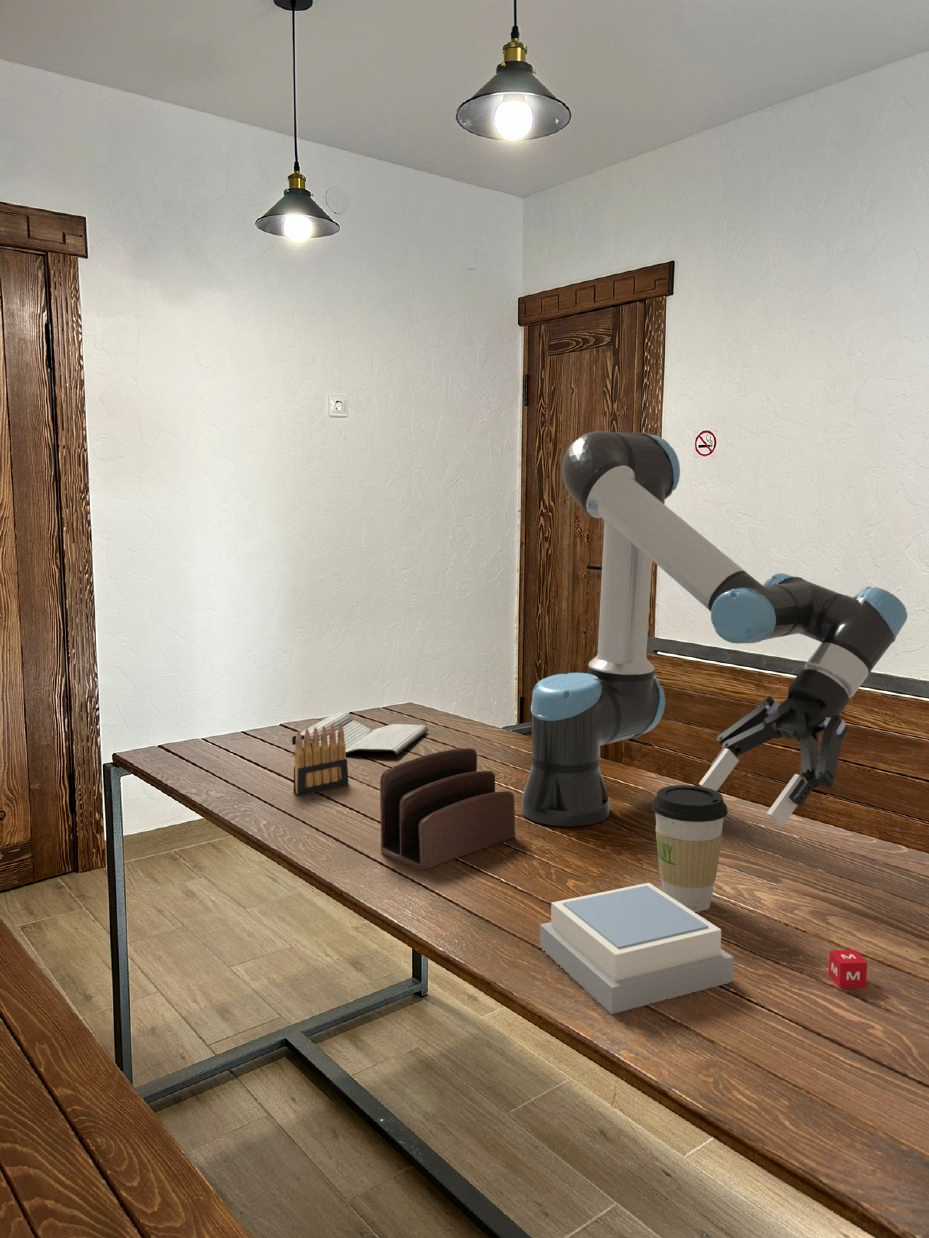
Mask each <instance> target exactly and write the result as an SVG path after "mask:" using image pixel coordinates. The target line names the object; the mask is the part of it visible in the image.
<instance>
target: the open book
mask: <svg viewBox="0 0 929 1238" xmlns="http://www.w3.org/2000/svg"><path fill="white" fill-rule="evenodd" d="M340 723H341V724H342V726H343V730H344V741H345V750H346V755H348V754H350V753H353V752H359V751H360V752H361V751H362V752H373V753H374V752H393V753H394V754H395V755H399V754H400V753H401V752H402V751H404V750H405V749H406V748H408V747H409V746H410V745H411V744H412V743H414V742H415V741H417V740H418V739H419V738H420V737H422V736H423V735H426V733H427V732H428V731H429V728H428V727H427V726H426V725H425V724H407V723H406V724H399V723H392V724H388V725H386V726H382V727H379V728H375V729H373V730H371V728H369V727H368V726H366V725H364V724H362V723H360V722H358V721H356V720H354V719H353V717H352V716H351V715H350V714H349V713H348V712H344V711H343V712H335V713H333V714H331V715H329V716H328V717H325V718H324V719H322V720H320V721H318V722H317V723H314V724H313V725H311V726H309V727H307V728H306V729H308V731H309V734H310V740H311V742H312V743H313V731H314V728H315V727H316V728H317V731H318V735H319V745H320V746H321V732H322V728H323V726H325V728H326V732H327V741H328V748H329V734H330V727H331V725H332V724H333V726H334V729H335V734H336V744H337V742H338V727H339V724H340ZM306 729H304V730H302V731H300V734H301V738H302V741H304V736H305V731H306ZM312 743H311V744H312ZM291 744H292V746H296V734H295V735H293V736H292V737H291ZM395 758H396V759H398V756H396V757H395Z"/></svg>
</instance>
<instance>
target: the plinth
mask: <svg viewBox="0 0 929 1238" xmlns="http://www.w3.org/2000/svg"><path fill="white" fill-rule="evenodd" d="M550 918H551V919H550V921H549V922H544V923H540V924H539V948H542V949H541V951H542V952H544V951H545V952H544V954H546V955H547V956H548V955H549V956H550V957H549V956H548V957H549V958H550V959H551V958H552V959H553V960H554V961H555V962H554V961H553V960H552V959H551V960H552V961H553V962H554V963H556V965H557V966H559V965H560V966H559V967H560V968H561V969H562V968H563V969H564V970H565V971H564V970H563V969H562V970H563V971H564V972H565V973H566V972H567V973H568V974H569V976H570V978H571V979H572V980H574V981H575V980H576V981H575V982H576V983H577V982H578V983H577V984H578V985H579V986H580V985H581V986H582V987H583V988H582V987H581V986H580V987H581V988H582V989H583V990H585V991H586V992H587V993H588V994H589V995H590V996H591V997H592V998H593V999H595V1001H596V1002H597V1003H598V1004H600V1005H601V1006H602V1007H603V1008H604V1010H606V1011H607V1012H608V1013H609V1014H610V1015H614V1014H619V1013H622V1012H626V1011H629V1010H633V1009H636V1008H641V1007H644V1006H649V1005H651V1003H652V1004H655V1003H660V1002H663V1001H667V1000H670V999H674V998H677V997H678V996H679V997H681V996H682V997H683V996H685V995H689V994H693V993H692V992H694V993H696V992H700V991H701V992H702V991H704V990H708V989H713V988H717V987H720V986H723V984H724V985H726V984H730V982H731V983H733V981H734V980H733V978H734V977H733V976H734V971H733V970H734V956H732V955H731V954H730V953H728V952H726V951H725V950H724V949H723V948H722V929H721V928H719V927H718V926H716V925H715V924H713V923H712V922H710V921H708V920H707V919H706V918H704V917H702V916H701V915H699V914H698V913H695V912H693V911H692V910H690V909H689V908H687V907H686V906H684V905H682V904H681V903H679V902H678V901H676V900H675V899H673V898H672V897H670V896H669V895H667V894H666V893H664V892H663V891H662V890H661V889H659V888H657V886H655V885H653V884H652V883H650V882H646V883H641V884H637V885H631V886H626V887H621V888H616V889H612V890H607V891H602V892H597V893H593V894H592V893H591V894H587V895H583V896H578V897H577V896H576V897H573V898H568V899H563V900H559V901H552V902H551V904H550ZM567 973H566V974H567ZM568 974H567V975H568ZM666 999H667V1000H666Z"/></svg>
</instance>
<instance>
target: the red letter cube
mask: <svg viewBox="0 0 929 1238" xmlns="http://www.w3.org/2000/svg"><path fill="white" fill-rule="evenodd" d="M828 956H829V957H828V973H827V974H828V976H829V977H830V978H831V980H832V981H833V982H834V983H835V984H836V985H837V987H838V988H839V989H851V988H853V989H855V988H857V989H860V988H863V989H864V988H865V989H866V988H867V977H868V976H867V975H868V973H867V972H868V962H867V961H866V960H865V958H864V957H862V955H861V954H860V953H859V952H858V951H857V950H856V949H830V950H829V955H828Z"/></svg>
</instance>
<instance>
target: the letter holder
mask: <svg viewBox="0 0 929 1238" xmlns="http://www.w3.org/2000/svg"><path fill="white" fill-rule="evenodd" d="M477 770H478V752H477V751H476V749H475V748H471V747H469V748H467V747H466V748H455V749H453V748H452V749H447V750H443V751H438V752H434V753H433V752H432V753H430V754H426V755H423V756H419V757H417V758H413V759H411V760H410V759H409V760H408V761H404V762H402V763H400V764H397V765H394V766H393V767H390V768H388V769H386V770H384V771H383V773H381V776H380V779H379V784H380V785H379V786H380V788H379V789H380V790H379V791H380V792H379V793H380V794H379V796H380V798H379V799H380V800H379V801H380V803H379V805H380V807H379V808H380V852H381V854H383V855H385V856H387V857H389V858H392V859H394V860H395V861H398V862H400V863H403V864H404V865H407V866H409V867H412V868H413V869H416V870H418V871H419V872H420V871H421V872H422V871H426V870H428V869H430V868H434V867H436V866H439V865H442V864H445V863H447V862H450V861H453V860H456V859H459V858H461V857H464V856H465V857H466V856H467V855H470V854H473V853H475V852H479V851H481V850H483V849H487V848H489V847H492V846H495V845H497V844H501V843H503V842H506V841H509V840H511V839H515V838H516V836H517V835H516V834H517V833H516V813H515V812H516V810H515V808H516V807H515V803H516V802H515V795H514V794H515V793H513V792H512V791H508V790H502V791H496V775H495V772H494V771H493V770H481V771H480V770H479V771H477Z"/></svg>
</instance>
